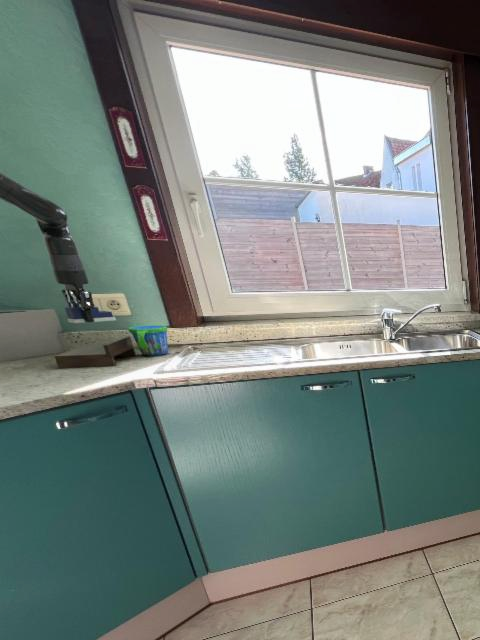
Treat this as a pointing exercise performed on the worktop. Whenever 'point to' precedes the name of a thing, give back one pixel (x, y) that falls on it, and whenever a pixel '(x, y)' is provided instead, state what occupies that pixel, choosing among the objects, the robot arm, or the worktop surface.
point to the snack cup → (151, 339)
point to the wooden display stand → (96, 354)
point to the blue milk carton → (77, 316)
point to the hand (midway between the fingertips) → (86, 321)
